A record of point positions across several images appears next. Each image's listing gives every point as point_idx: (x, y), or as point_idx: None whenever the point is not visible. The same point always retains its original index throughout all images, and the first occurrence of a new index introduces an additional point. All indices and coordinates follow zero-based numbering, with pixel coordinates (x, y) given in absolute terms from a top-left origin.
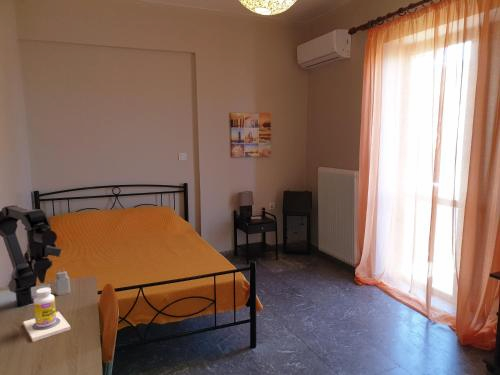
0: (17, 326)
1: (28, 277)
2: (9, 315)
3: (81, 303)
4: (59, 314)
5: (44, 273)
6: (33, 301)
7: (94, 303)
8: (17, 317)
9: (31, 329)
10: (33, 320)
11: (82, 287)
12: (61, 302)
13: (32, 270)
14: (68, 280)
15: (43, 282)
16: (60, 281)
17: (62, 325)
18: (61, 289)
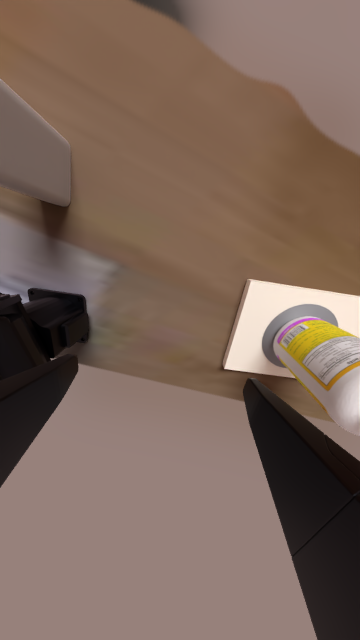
0: (218, 373)
1: (2, 369)
2: (133, 367)
3: (235, 167)
4: (277, 289)
5: (347, 468)
6: (81, 299)
7: (292, 116)
8: (163, 359)
9: (289, 371)
10: (241, 351)
11: (27, 30)
12: (154, 227)
13: (31, 441)
14: (8, 89)
15: (255, 382)
16: (11, 155)
17: (357, 314)
18: (53, 176)
